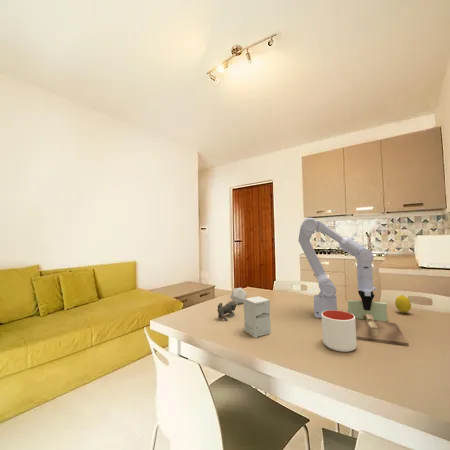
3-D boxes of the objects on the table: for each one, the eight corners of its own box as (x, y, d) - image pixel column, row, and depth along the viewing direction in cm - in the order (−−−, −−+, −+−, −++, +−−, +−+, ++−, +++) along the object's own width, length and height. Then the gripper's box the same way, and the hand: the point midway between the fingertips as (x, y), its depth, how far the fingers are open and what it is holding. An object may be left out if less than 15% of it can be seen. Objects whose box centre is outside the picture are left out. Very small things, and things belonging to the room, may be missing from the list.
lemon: (414, 315, 102) (413, 296, 102) (399, 315, 103) (398, 296, 103) (407, 311, 107) (406, 293, 108) (393, 311, 108) (392, 293, 109)
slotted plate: (348, 317, 103) (347, 301, 103) (348, 316, 104) (347, 299, 105) (387, 321, 97) (386, 304, 97) (386, 319, 99) (385, 302, 99)
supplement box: (255, 338, 86) (253, 302, 86) (244, 331, 92) (242, 298, 93) (271, 333, 89) (270, 299, 90) (259, 327, 96) (258, 295, 96)
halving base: (345, 337, 84) (344, 326, 84) (343, 320, 100) (343, 310, 100) (408, 346, 76) (407, 333, 76) (395, 325, 92) (395, 315, 92)
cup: (355, 356, 71) (353, 322, 72) (320, 349, 76) (318, 317, 77) (357, 342, 80) (356, 312, 80) (325, 336, 85) (324, 308, 85)
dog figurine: (223, 322, 102) (223, 304, 103) (214, 319, 106) (213, 302, 107) (241, 314, 111) (240, 298, 112) (232, 312, 115) (231, 296, 116)
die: (243, 300, 136) (232, 287, 137) (252, 295, 131) (241, 281, 131) (236, 309, 130) (224, 295, 130) (245, 304, 124) (234, 290, 125)
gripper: (378, 280, 93) (380, 315, 93) (373, 274, 106) (375, 305, 106) (358, 279, 96) (360, 313, 95) (355, 273, 109) (357, 303, 109)
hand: (366, 309), depth 101 cm, fingers closed on slotted plate, 2 cm apart
